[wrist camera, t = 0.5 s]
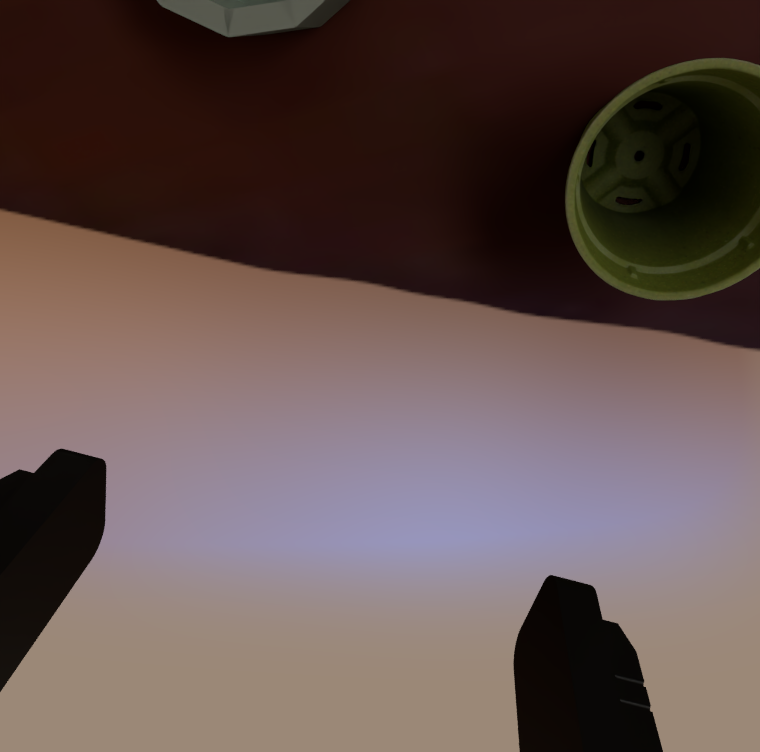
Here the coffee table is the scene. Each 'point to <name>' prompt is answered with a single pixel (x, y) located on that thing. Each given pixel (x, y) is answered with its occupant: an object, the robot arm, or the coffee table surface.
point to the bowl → (255, 14)
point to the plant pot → (672, 182)
